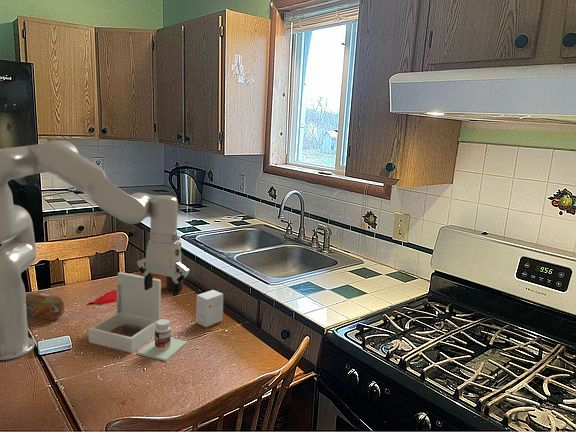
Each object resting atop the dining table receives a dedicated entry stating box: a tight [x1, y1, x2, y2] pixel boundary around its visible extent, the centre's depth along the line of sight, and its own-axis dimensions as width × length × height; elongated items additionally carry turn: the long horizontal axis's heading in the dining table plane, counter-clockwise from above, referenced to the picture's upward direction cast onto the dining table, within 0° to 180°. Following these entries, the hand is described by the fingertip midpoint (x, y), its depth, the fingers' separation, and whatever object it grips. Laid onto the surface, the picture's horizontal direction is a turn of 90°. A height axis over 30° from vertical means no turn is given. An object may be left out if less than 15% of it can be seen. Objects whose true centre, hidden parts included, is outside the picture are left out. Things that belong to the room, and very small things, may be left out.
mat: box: [137, 337, 188, 362], centre depth 137 cm, size 12×10×1 cm
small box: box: [195, 289, 224, 328], centre depth 157 cm, size 8×6×10 cm
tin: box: [26, 292, 65, 321], centre depth 152 cm, size 15×3×8 cm, turn 76°
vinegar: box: [165, 240, 184, 292], centre depth 184 cm, size 7×7×20 cm
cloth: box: [86, 289, 117, 307], centre depth 175 cm, size 26×14×2 cm, turn 127°
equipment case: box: [88, 271, 162, 354], centre depth 141 cm, size 15×16×18 cm
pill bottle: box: [154, 318, 172, 350], centre depth 136 cm, size 5×5×8 cm
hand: (162, 291), depth 133 cm, fingers open, 9 cm apart
